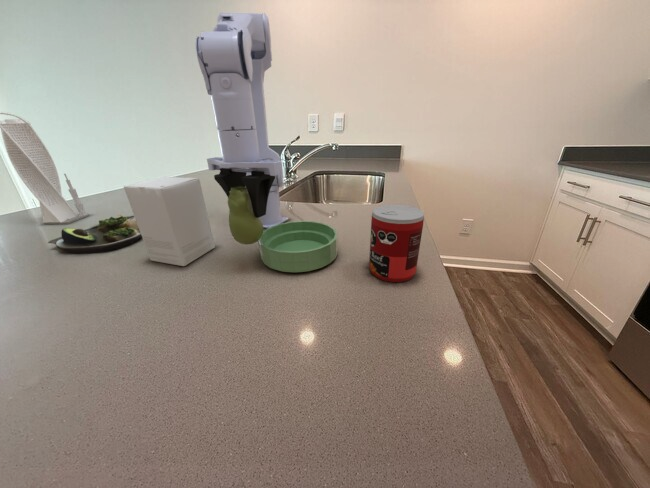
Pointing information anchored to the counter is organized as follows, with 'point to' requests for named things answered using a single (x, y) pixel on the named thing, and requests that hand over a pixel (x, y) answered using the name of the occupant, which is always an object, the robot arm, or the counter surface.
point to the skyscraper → (39, 171)
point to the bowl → (298, 246)
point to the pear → (243, 217)
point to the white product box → (171, 218)
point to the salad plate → (99, 236)
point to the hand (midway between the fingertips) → (250, 214)
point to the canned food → (395, 242)
